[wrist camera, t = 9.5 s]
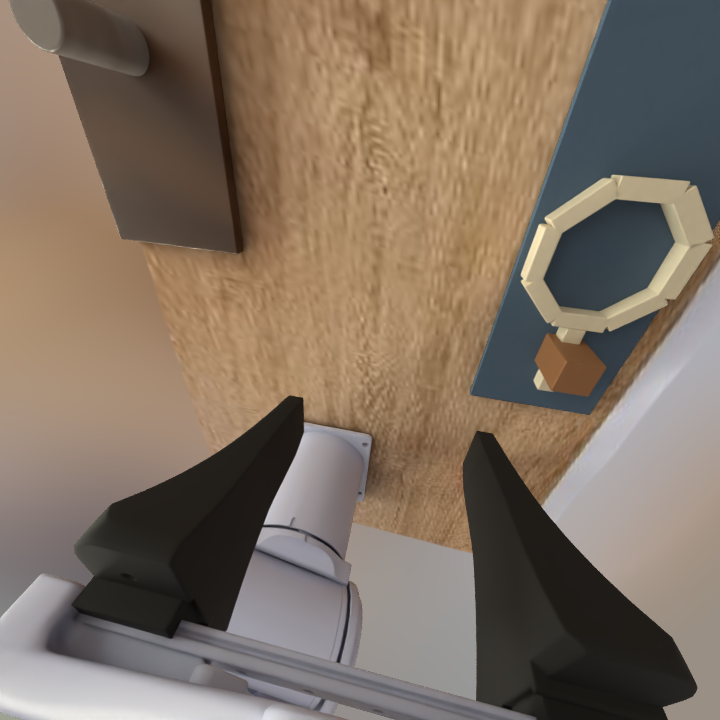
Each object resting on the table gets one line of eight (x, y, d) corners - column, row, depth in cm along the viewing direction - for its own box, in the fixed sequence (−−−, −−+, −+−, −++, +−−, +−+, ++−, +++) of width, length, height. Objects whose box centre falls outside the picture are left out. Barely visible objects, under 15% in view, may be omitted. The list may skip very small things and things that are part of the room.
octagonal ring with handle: (558, 169, 14) (587, 172, 12) (733, 184, 14) (807, 191, 11) (483, 372, 21) (492, 403, 18) (599, 391, 20) (625, 426, 17)
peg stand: (244, 251, 20) (195, 276, 16) (130, 236, 21) (56, 256, 16) (194, -122, 12) (71, -272, 8) (15, -121, 13) (-183, -254, 9)
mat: (586, 411, 21) (589, 415, 21) (469, 391, 22) (470, 395, 22) (874, -27, 10) (889, -34, 10) (619, -33, 11) (624, -39, 11)
